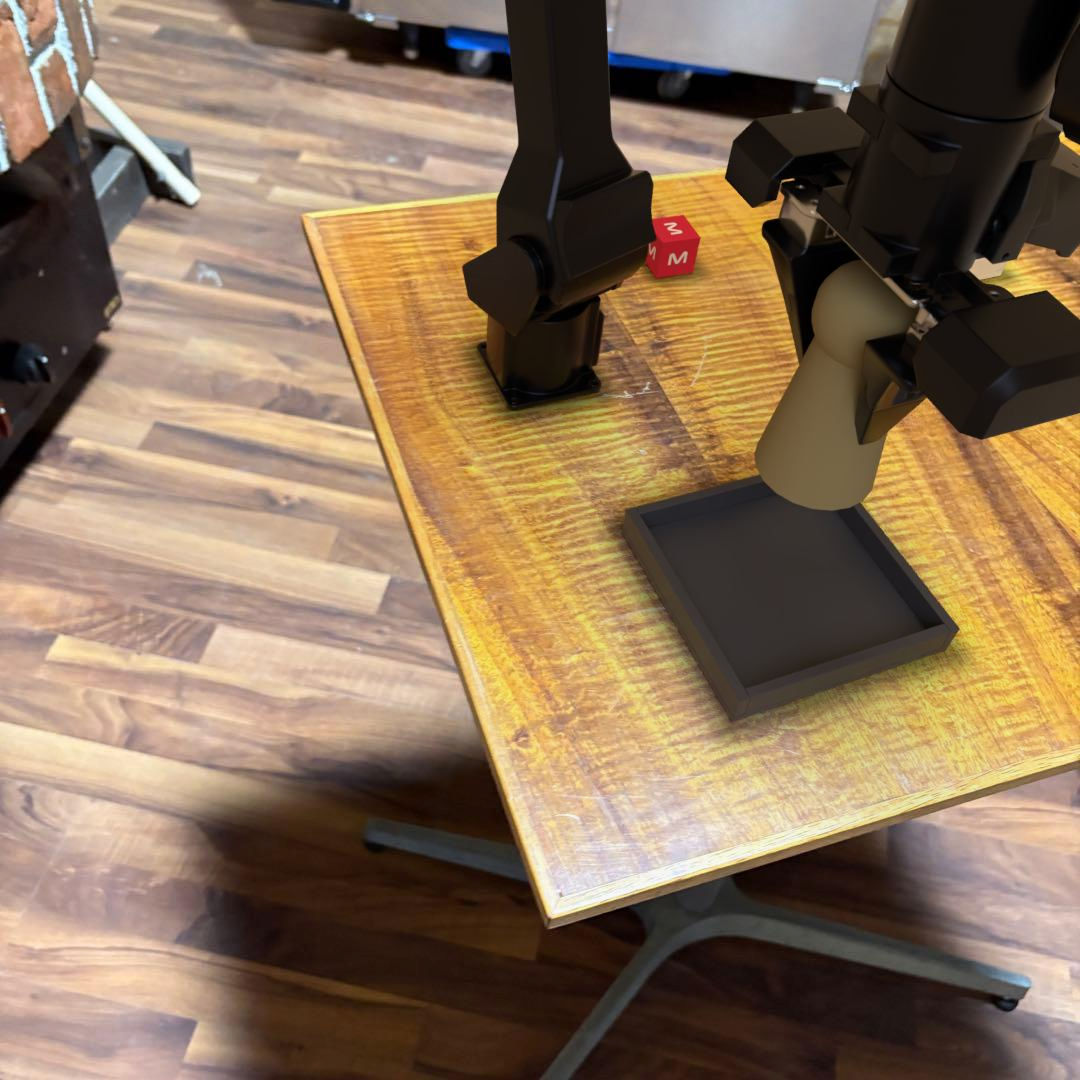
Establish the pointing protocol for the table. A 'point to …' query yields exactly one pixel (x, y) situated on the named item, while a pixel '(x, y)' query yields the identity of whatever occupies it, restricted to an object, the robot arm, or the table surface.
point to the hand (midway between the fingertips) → (838, 408)
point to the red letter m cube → (673, 247)
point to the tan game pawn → (831, 396)
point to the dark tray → (782, 592)
